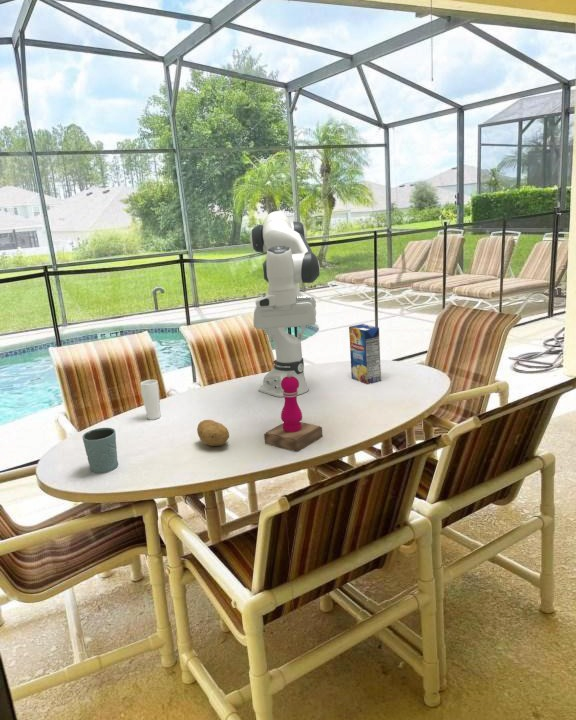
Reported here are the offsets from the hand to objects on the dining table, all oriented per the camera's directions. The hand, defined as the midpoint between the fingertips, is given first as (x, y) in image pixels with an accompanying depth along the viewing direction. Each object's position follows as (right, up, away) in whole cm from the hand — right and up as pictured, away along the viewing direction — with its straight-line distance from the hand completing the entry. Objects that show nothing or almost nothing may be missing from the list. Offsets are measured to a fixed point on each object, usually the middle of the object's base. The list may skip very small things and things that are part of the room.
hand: (286, 340), depth 182 cm
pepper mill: (+2, -30, +7) cm, 31 cm away
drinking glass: (-53, -30, +41) cm, 73 cm away
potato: (-24, -36, +10) cm, 44 cm away
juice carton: (+35, -15, +67) cm, 77 cm away
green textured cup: (-59, -42, -2) cm, 72 cm away
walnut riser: (+3, -34, +8) cm, 35 cm away
